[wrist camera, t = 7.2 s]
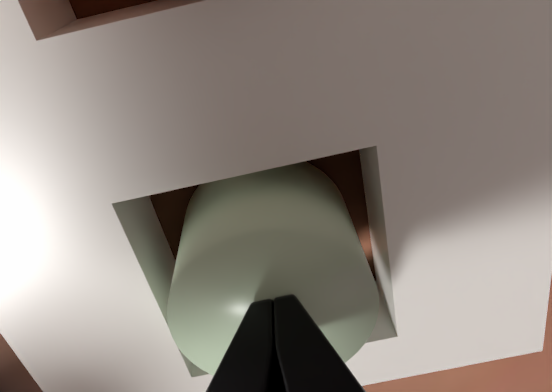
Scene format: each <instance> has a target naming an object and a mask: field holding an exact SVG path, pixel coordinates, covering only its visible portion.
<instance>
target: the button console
mask: <svg viewBox="0 0 552 392" xmlns="http://www.w3.org/2000/svg"><path fill="white" fill-rule="evenodd" d="M358 149H359V154H360V162H361V169H362V177H363V185H364V192H365V200H366V207H367V215H368V222H369V230H370V237H371V245H372V253H373V260H374V268H375V275H376V281H375V283H376V285H377V290H378V294H379V311H378V317H377V321H376V324H375V327H374V329H373V331H372V333H371V335H370V337H369V338H368V340H367V341H366V343H365V344H364V345H363V346H362V348H361V349H360V350H359V351H358V352H357V353H356V354H355V355H354V356H353V357H352V358H350V359H349V360H348V361H347V362H345V364H346V365H347V367H348V368H349V369H350V371H351V372H352V374H353V375H354V376H355V378H356V379H357V380H358V382H359V383H360V385H361V386H364V385H369V384H374V383H379V382H384V381H389V380H395V379H400V378H405V377H410V376H415V375H420V374H425V373H431V372H436V371H441V370H446V369H451V368H456V367H462V366H467V365H472V364H477V363H482V362H487V361H493V360H498V359H503V358H508V357H513V356H518V355H524V354H529V353H534V352H539V351H542V350H543V342H544V334H545V325H546V317H547V308H548V300H549V291H550V283H551V274H552V0H156V1H152V2H148V3H144V4H140V5H135V6H131V7H127V8H123V9H119V10H115V11H110V12H106V13H102V14H98V15H94V16H90V17H86V18H81V19H76V16H75V14H74V11H73V9H72V7H71V4H70V2H69V0H0V333H1V335H2V336H3V337H4V339H5V340H6V341H7V343H8V344H9V346H10V347H11V348H12V350H13V351H14V352H15V354H16V355H17V357H18V358H19V359H20V361H21V362H22V363H23V365H24V366H25V368H26V369H27V370H28V372H29V373H30V375H31V376H32V377H33V379H34V380H35V381H36V383H37V384H38V386H39V387H40V388H41V390H42V391H43V392H206V390H207V388H208V386H209V384H210V382H211V380H212V378H213V375H210V374H209V373H207V372H205V371H203V370H202V369H200V368H199V367H197V366H196V365H195V364H193V363H192V362H191V361H190V360H189V359H188V358H187V357H186V356H185V355H184V354H183V353H182V352H181V351H180V349H179V348H178V347H177V345H176V343H175V341H174V340H173V338H172V335H171V333H170V330H169V327H168V321H167V304H168V298H169V293H170V288H171V283H172V278H173V273H174V268H175V263H176V261H175V259H174V256H173V254H172V251H171V249H170V246H169V244H168V242H167V239H166V237H165V234H164V232H163V229H162V227H161V224H160V222H159V219H158V217H157V215H156V212H155V210H154V207H153V205H152V202H151V200H150V197H149V195H153V194H158V193H162V192H167V191H171V190H176V189H181V188H185V187H190V186H194V185H199V184H203V183H208V182H213V181H217V180H222V179H226V178H231V177H235V176H240V175H244V174H249V173H254V172H258V171H263V170H267V169H272V168H276V167H281V166H285V165H290V164H295V163H299V162H304V161H308V160H313V159H317V158H322V157H326V156H331V155H336V154H340V153H345V152H349V151H354V150H358Z"/></svg>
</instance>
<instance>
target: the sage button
mask: <svg viewBox="0 0 552 392" xmlns="http://www.w3.org/2000/svg"><path fill="white" fill-rule="evenodd" d="M289 294H294V295H295V296H296V297H297V298H298V299H299V301H300V302H301V304H302V305H303V306H304V308H305V309H306V310H307V312H308V313H309V315H310V316H311V317H312V319H313V320H314V321H315V323H316V324H317V326H318V327H319V328H320V330H321V331H322V332H323V334H324V335H325V337H326V338H327V339H328V341H329V342H330V343H331V345H332V346H333V348H334V349H335V350H336V352H337V353H338V354H339V356H340V357H341V358H342V360H343V361H344V363H345V362H347V361H348V360H349V359H350V358H352V357H353V356H354V355H355V354H356V353H357V352H358V351H359V350H360V349H361V348H362V346H363V345H364V344H365V343H366V341H367V340H368V338H369V337H370V335H371V333H372V331H373V329H374V327H375V324H376V321H377V317H378V311H379V294H378V290H377V285H376V283H375V280H374V277H373V275H372V272H371V270H370V267H369V264H368V262H367V259H366V256H365V254H364V251H363V249H362V246H361V243H360V241H359V238H358V235H357V233H356V230H355V228H354V225H353V222H352V220H351V217H350V214H349V212H348V209H347V207H346V204H345V201H344V199H343V197H342V194H341V192H340V191H339V189H338V188H337V186H336V185H335V183H334V182H333V181H332V180H331V179H330V178H329V177H328V176H327V175H326V174H325V173H324V172H323V171H321V170H320V169H318V168H317V167H315V166H313V165H311V164H309V163H307V162H305V161H304V162H299V163H295V164H290V165H285V166H281V167H276V168H272V169H267V170H263V171H258V172H254V173H249V174H244V175H240V176H235V177H231V178H226V179H222V180H217V181H213V182H208V183H203V184H200V185H199V186H198V187H197V189H196V190H195V191H194V193H193V195H192V197H191V199H190V201H189V204H188V206H187V209H186V214H185V219H184V224H183V229H182V234H181V239H180V244H179V249H178V254H177V259H176V263H175V268H174V273H173V278H172V283H171V288H170V293H169V298H168V304H167V321H168V327H169V330H170V333H171V335H172V338H173V340H174V341H175V343H176V345H177V347H178V348H179V349H180V351H181V352H182V353H183V354H184V355H185V356H186V357H187V358H188V359H189V360H190V361H191V362H192V363H193V364H195V365H196V366H197V367H199V368H200V369H202V370H203V371H205V372H207V373H209V374H210V375H213V376H214V374H215V372H216V370H217V368H218V366H219V364H220V362H221V360H222V358H223V357H224V355H225V353H226V351H227V349H228V347H229V345H230V343H231V341H232V339H233V337H234V335H235V333H236V331H237V329H238V327H239V325H240V323H241V321H242V319H243V317H244V315H245V313H246V311H247V309H248V307H249V306H250V304H251V303H252V302H255V301H260V300H265V299H272V300H274V298H276V297H279V296H284V295H289Z"/></svg>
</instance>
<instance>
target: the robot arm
mask: <svg viewBox="0 0 552 392" xmlns="http://www.w3.org/2000/svg"><path fill="white" fill-rule="evenodd" d="M206 392H366V391H365V390H364V389H363V387H362V386H361V385H360V383H359V382H358V380H357V379H356V378H355V376H354V375H353V374H352V372H351V371H350V369H349V368H348V367H347V365H346V364H345V363H344V361H343V360H342V358H341V357H340V356H339V354H338V353H337V352H336V350H335V349H334V348H333V346H332V345H331V343H330V342H329V341H328V339H327V338H326V337H325V335H324V334H323V332H322V331H321V330H320V328H319V327H318V326H317V324H316V323H315V321H314V320H313V319H312V317H311V316H310V315H309V313H308V312H307V310H306V309H305V308H304V306H303V305H302V304H301V302H300V301H299V299H298V298H297V297H296V296H295V295H294V294H289V295H284V296H279V297H276V298H274V300H272V299H265V300H260V301H255V302H252V303H251V304H250V306H249V307H248V309H247V311H246V313H245V315H244V317H243V319H242V321H241V323H240V325H239V327H238V329H237V331H236V333H235V335H234V337H233V339H232V341H231V343H230V345H229V347H228V349H227V351H226V353H225V355H224V357H223V358H222V360H221V362H220V364H219V366H218V368H217V370H216V372H215V374H214V376H213V378H212V380H211V382H210V384H209V386H208V388H207V390H206Z"/></svg>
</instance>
